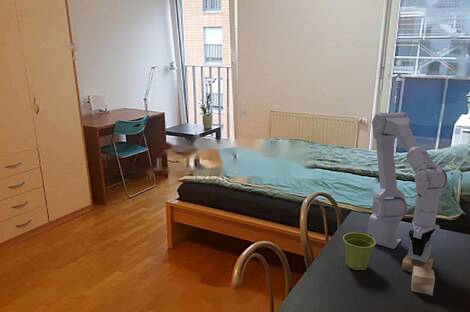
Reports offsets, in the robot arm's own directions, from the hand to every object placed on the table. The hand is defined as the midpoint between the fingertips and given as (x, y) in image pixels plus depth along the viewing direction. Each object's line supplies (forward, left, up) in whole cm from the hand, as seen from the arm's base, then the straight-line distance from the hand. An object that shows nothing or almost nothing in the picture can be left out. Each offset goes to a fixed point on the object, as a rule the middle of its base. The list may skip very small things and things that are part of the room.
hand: (419, 251), depth 112 cm
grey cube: (0, 0, -2) cm, 2 cm away
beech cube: (+4, -10, -6) cm, 12 cm away
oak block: (0, 0, -6) cm, 6 cm away
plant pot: (-15, -10, -6) cm, 19 cm away
